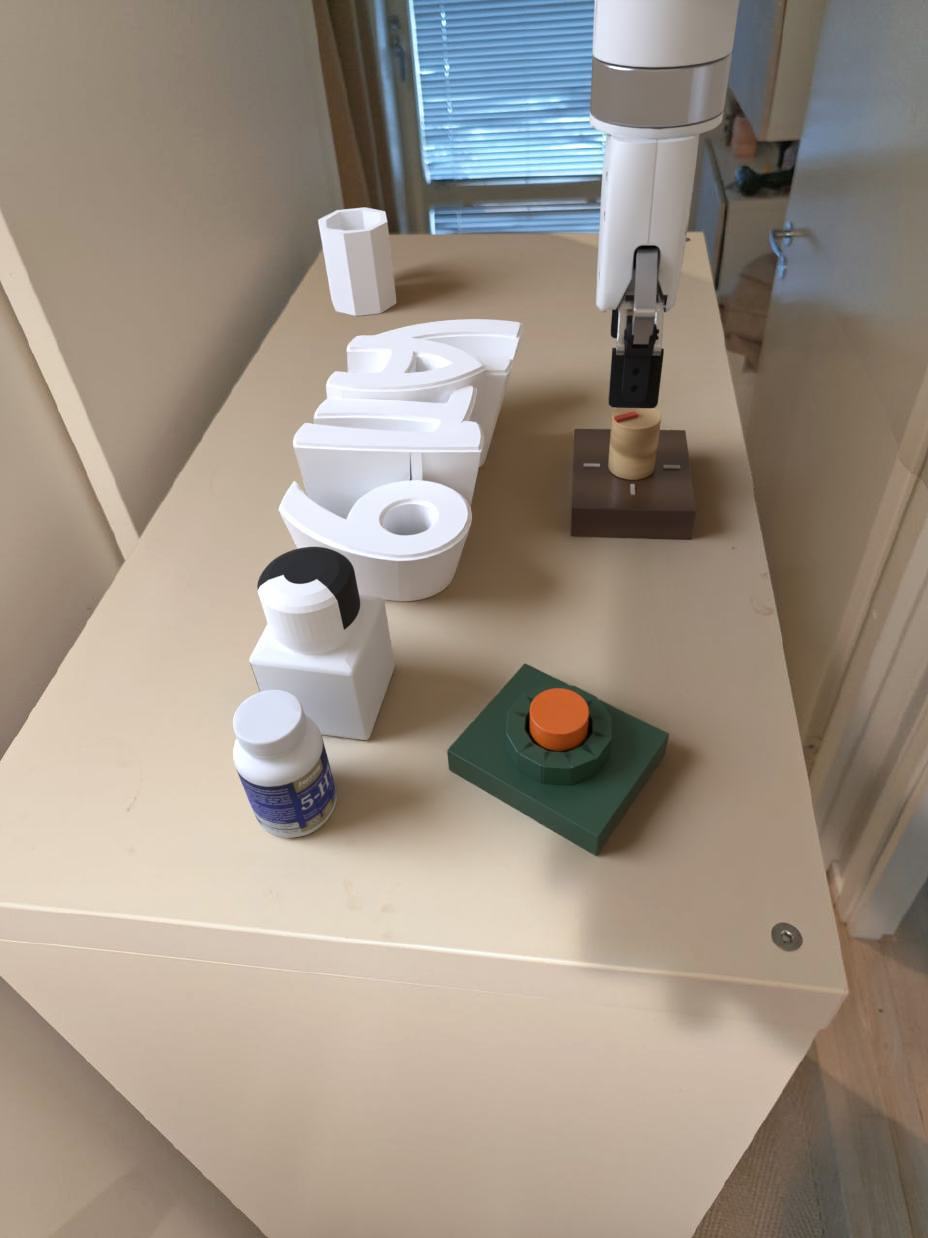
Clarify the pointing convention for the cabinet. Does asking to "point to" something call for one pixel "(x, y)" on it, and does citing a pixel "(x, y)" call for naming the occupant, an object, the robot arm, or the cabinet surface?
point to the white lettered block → (402, 452)
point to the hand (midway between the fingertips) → (632, 369)
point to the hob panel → (631, 491)
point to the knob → (634, 442)
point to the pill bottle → (283, 764)
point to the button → (559, 719)
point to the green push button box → (559, 761)
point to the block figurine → (324, 641)
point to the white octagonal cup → (358, 260)
